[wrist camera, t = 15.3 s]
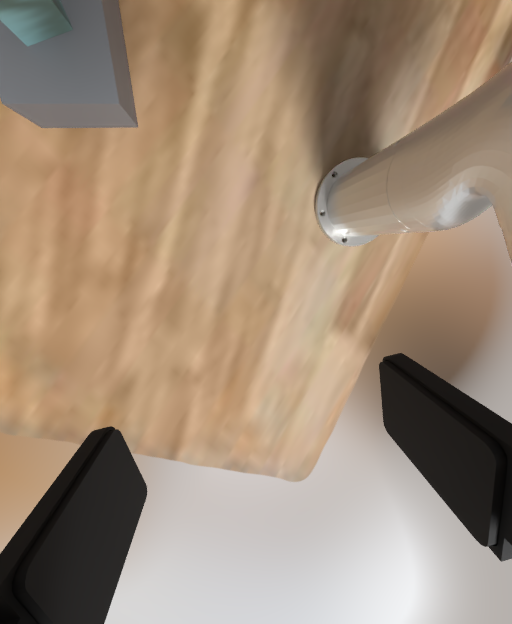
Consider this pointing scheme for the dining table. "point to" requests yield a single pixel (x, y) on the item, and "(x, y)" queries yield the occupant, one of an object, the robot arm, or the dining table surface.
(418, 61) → the dining table surface
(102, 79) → the plinth
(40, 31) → the teal block
